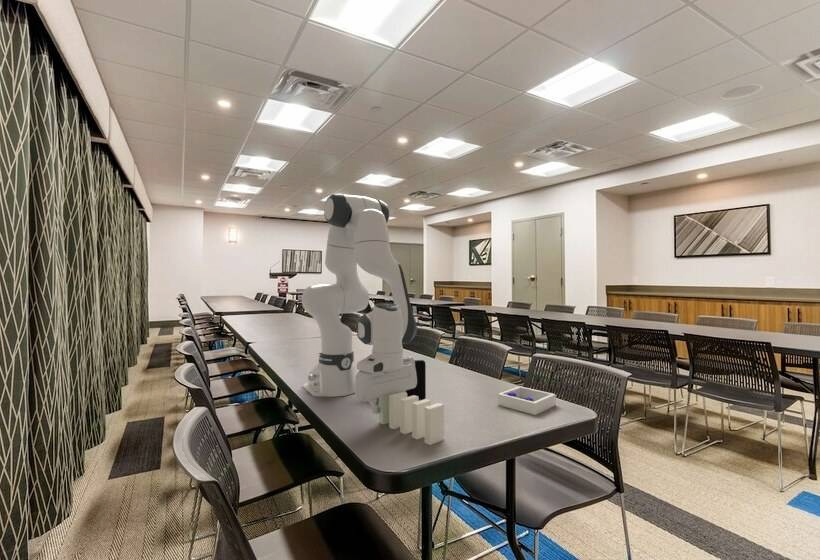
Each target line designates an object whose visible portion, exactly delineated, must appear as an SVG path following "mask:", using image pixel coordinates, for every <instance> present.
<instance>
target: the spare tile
mask: <svg viewBox="0 0 820 560" xmlns="http://www.w3.org/2000/svg"><path fill="white" fill-rule="evenodd" d="M394 394H396V393H394ZM391 395H392V394H391ZM378 406H379V407H380V413H378V423H379V424H381V425H388V424H389V395H387V396H383V397H379V398H378Z"/></svg>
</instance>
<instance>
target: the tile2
mask: <svg viewBox="0 0 820 560" xmlns="http://www.w3.org/2000/svg"><path fill="white" fill-rule="evenodd" d="M406 397H407V393H405V392H400V393H396V394H392V395H389V423H388V427H389V428H390V429H392V430H396V429H400V399H402V398H406Z"/></svg>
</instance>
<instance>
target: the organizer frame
mask: <svg viewBox="0 0 820 560" xmlns="http://www.w3.org/2000/svg"><path fill="white" fill-rule="evenodd" d="M511 392H513V393H516V397H513V396H509V395H508V393H511ZM528 397H530V398H533V401H529V400H525V399H524V398H528ZM556 397H557V396H556V394H555V393H553V392H547V391H544V390H543V391H542V390H538V389H534V388H529V387H525V386H516V387H514V388H513V387H512V388H511V389H508V390H505V391H502V392H499V393H497V406H500V407H504V408H509V409H511V410H516V411H518V412H519V411H520V412H523V413H525V414H530V415H534V416H536V415H538V414H541V413H542V412H544V411H547V410H549V409H551V408H553V407H555V406H556V403H557V400H556Z"/></svg>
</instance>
